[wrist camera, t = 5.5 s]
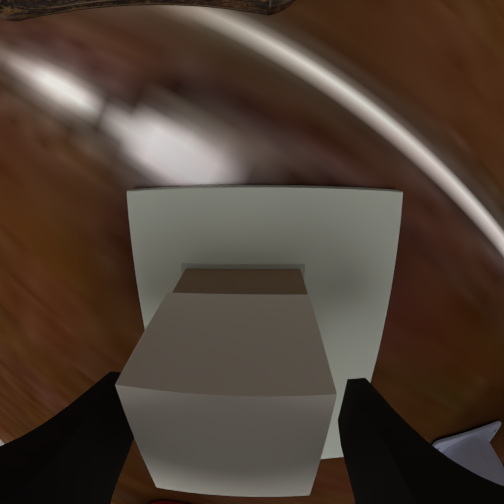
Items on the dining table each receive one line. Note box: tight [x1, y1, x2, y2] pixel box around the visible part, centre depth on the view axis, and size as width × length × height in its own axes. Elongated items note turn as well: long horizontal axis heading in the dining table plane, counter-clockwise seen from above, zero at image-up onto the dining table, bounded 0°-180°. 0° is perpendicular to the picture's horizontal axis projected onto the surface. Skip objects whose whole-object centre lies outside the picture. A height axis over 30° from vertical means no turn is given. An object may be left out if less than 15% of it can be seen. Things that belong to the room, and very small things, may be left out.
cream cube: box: [115, 292, 337, 497], centre depth 10 cm, size 5×5×5 cm
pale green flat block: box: [127, 185, 403, 459], centre depth 15 cm, size 18×12×4 cm, turn 0°
